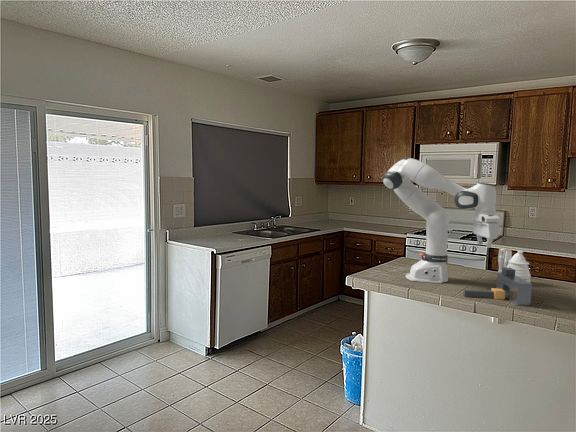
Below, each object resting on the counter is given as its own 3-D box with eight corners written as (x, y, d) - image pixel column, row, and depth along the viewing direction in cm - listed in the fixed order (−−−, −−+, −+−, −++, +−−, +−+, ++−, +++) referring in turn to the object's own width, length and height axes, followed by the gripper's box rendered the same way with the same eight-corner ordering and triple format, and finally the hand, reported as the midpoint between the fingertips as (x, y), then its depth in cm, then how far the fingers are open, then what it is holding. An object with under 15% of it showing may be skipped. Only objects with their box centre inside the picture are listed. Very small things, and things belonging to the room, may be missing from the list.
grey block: (516, 305, 184) (518, 276, 183) (496, 291, 205) (498, 266, 204) (530, 305, 184) (532, 277, 183) (508, 292, 205) (510, 266, 203)
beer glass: (494, 273, 245) (496, 248, 244) (505, 273, 246) (507, 248, 244) (501, 276, 238) (503, 250, 237) (512, 276, 239) (514, 250, 237)
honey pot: (533, 286, 217) (536, 253, 215) (507, 284, 219) (510, 251, 217) (524, 280, 229) (527, 249, 227) (500, 279, 232) (502, 247, 230)
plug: (465, 297, 194) (466, 289, 193) (462, 294, 198) (462, 286, 198) (504, 299, 193) (505, 291, 192) (500, 296, 197) (501, 288, 197)
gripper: (470, 215, 205) (469, 242, 206) (487, 219, 185) (486, 249, 186) (482, 215, 205) (482, 242, 206) (501, 218, 184) (500, 249, 185)
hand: (484, 245), depth 196 cm, fingers open, 8 cm apart
